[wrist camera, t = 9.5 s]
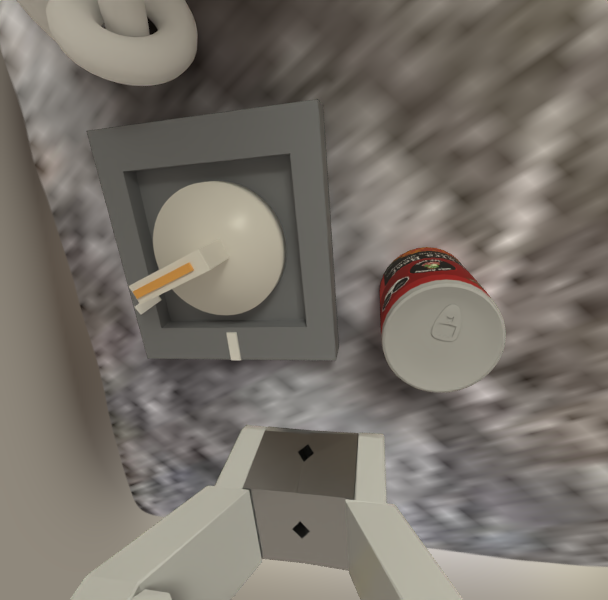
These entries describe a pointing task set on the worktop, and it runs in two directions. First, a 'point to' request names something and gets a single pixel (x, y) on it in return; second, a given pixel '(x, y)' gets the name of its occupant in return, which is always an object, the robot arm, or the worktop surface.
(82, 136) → the worktop surface
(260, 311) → the panel
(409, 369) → the canned food
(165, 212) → the dial
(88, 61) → the white decorative knot
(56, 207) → the worktop surface
